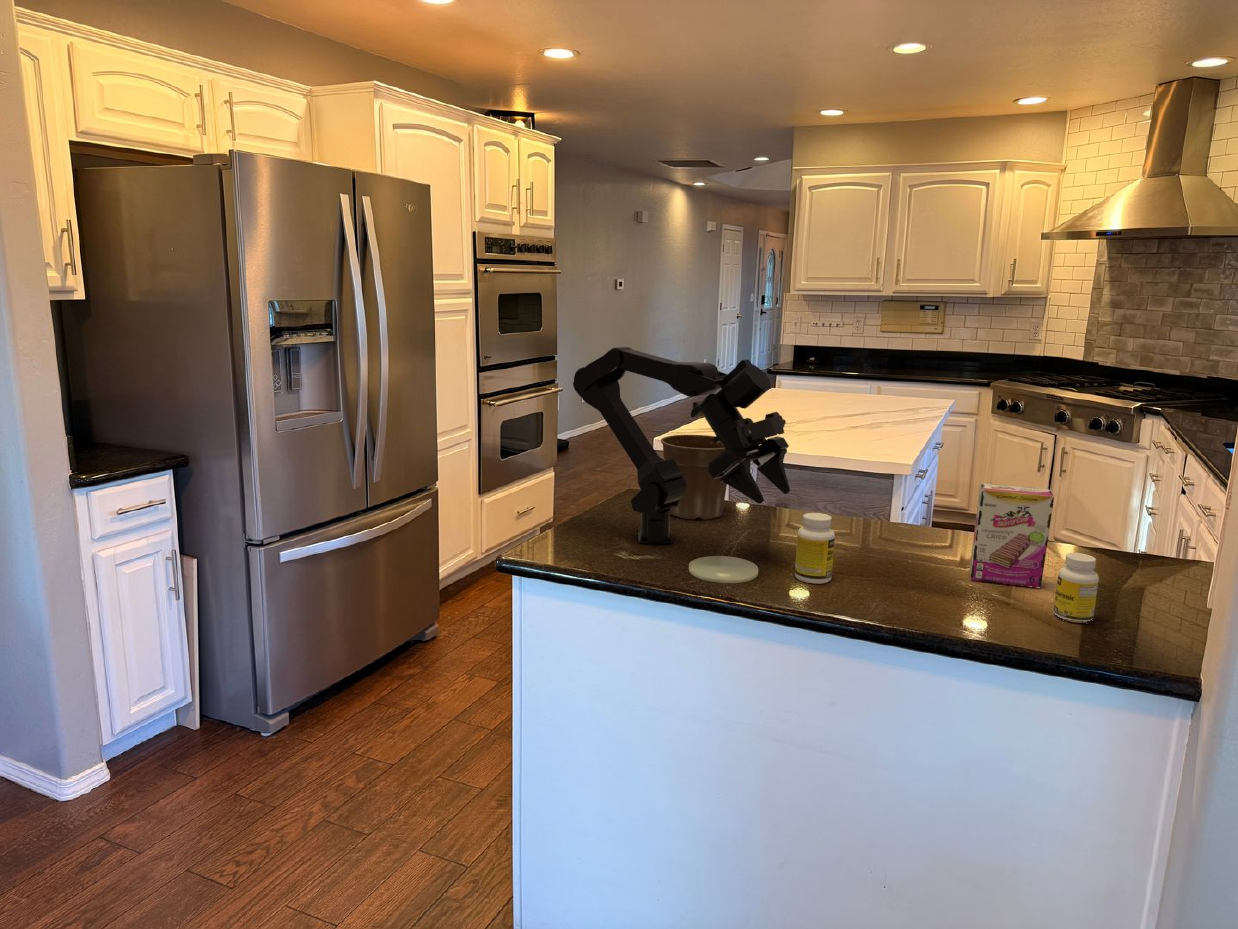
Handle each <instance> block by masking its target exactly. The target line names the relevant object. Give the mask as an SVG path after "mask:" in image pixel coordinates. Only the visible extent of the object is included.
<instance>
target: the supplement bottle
mask: <svg viewBox="0 0 1238 929" xmlns="http://www.w3.org/2000/svg"><path fill="white" fill-rule="evenodd" d="M1096 562H1097V558H1096V557H1094V556H1092V555H1089V554H1086V553H1081V552H1080V553H1079V552H1069V553H1067V554H1066V555H1065V560H1064V564H1065V566H1063V567H1061V568H1060V569H1059V570H1058V574H1057V581H1056V582H1057V584H1056V589H1055V596H1054V604H1053V614H1054V613H1055V615H1057V616H1058V617H1060V618H1063V619H1068V620H1074V621H1083V622H1087V621H1090V620H1092V619H1093V620H1094V616H1095V610H1096V603H1097V594H1098V588H1099V587H1098V586H1099V579H1100V578H1099V574H1098V573H1097V572H1095V571H1094V569H1095V568H1096V564H1097V563H1096ZM1055 615H1054V616H1055ZM1093 620H1092V621H1093Z"/></svg>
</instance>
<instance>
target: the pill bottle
mask: <svg viewBox="0 0 1238 929" xmlns="http://www.w3.org/2000/svg"><path fill="white" fill-rule="evenodd" d="M802 524H803V526H801V527H800V528H799V529H798V530H797V536H796V537H797V538H796V552H795V567H794V576H795V578H796V579H797V580H799V581H801V582H804V583H809V584H815V585H816V584H817V585H818V584H819V585H821V584H827V583H828V582H830V581H831V580H832V576H833V568H834V567H833V565H834V554H835V553H834V551H835V550H834V549H835V541H836V540H835V539H836V537H835V536H836V534H835V532H834V530H833V529H831V528H830V527H831V526H832V516H830V515H828V514H825V513H820V512H807V513H805V514H803V515H802Z"/></svg>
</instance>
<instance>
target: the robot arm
mask: <svg viewBox="0 0 1238 929" xmlns="http://www.w3.org/2000/svg"><path fill="white" fill-rule="evenodd" d="M626 372H630V373H633V374H637V375H640V376H643V377H646V378H651V379H653V380H657V381H660V382H664V383H665V384H668V385H669V386H670V388H672V390H675V391H676V392H678V393H680V394H682V395H684V396H685V397H689V398H694V397H700V396H706V397H705V398H704V399H703V400H700V401H699V400H698V401H693V402H692V409H691V411H690V418H697V417H702V416H703V417H704V418H705V421H706V422H707V424H708V425H709V426H710V428H711V430H712V431H713V433H714V434H715V435H714V436H715V437H714V438H713V440H714V442H715V443H720V442H721V444H722V446H723V447H724V449H725V451H723V452H722V453H721V454H720V455H718V456H717V457H716V458H715V459H713V460H712V461H711V462H710V463H709V464H708V472H709V473H710V475H711V477H712V478H713V480H714V479H717V478H720V479H719V481H720V482H724V483H726V484H727V486H730V487H731V488H733V489H735V490H737V491H738V492H740V493H741V494H743V495H744V496H746V497H747V498H748V499H750V500H752V501H754V502H755V503H757V504H758V505H760V504H762V503H763V502H764V501H765V499H764V496H763V494H762V492H761V490H760V488H759V486H758V484H757V482H756V481H755V479H754V477H753V474H752V473H751V464H752V463H753V464H754V465H756V466H757V468H756V470H757V471H759V472H760V473H761V474H762V476H764V477H765V478H766V479H767V480H768V481H770V483H772V485H774V486H775V487H776V488H777V489H778V490H780V492H782V493H783V494H784V495H788V494H789V493H790V492H791V489H790V484H789V481H788V478H787V474H786V470H785V465H784V460H785V455H786V454H787V453H788V448H789V447H790V445H789V444H788V442H787V440H786V439H785V438H784V437H782V436H779V435H783V434H785V429H784V428H785V425H786V424H787V421H786V420H785V419H784V418H783V416H782V415H781V414H780V412H778V411H773V412H771V413H767V414H765V416H764V419H761V420H758V421H753V420H752V419H751V418H750V417H746V418H744V417H743V415H742V413H741V412H740V410H739V409H738V408H740V409H747V408H749V407H750V406H751V405H752V404H753V403H754V402H756V401H757V400H758V399H759V398H761V397H762V396H763V395H764V394H766V393H767V392H768V391H769V390H771V385H772V384H771V381H770V378H769V377H768V375H767V373H766V372H763V370H762V369H761V368H759V367H758V366H757V365H755V364H753V363H752V362H751V360H750V359H742V360H740V362H738V363H737V364H736V366H735V367H734V368H733V369H732V370H731V371H730V372H729V373H725V372H722V371H721V370H720V371H719V369H718V366H716V365H715V364H713V363H710V362H699V361H698V362H695V361H693V362H691V361H690V362H688V361H676V360H672V359H668V358H665V357H661V356H657V355H654V354H650V353H646V352H642V351H638V350H635V349H633V348H631V347H628V346H619V347H613V348H611V349H609V350H607V352H606V353H604V355H602V356H600V357H598V358H597V359H595V360H593V361H591V362H590V363H588V364H587V365H585V366H584V367H580V368H578V369H577V370H576V371H575V373H574V376H573V383H572V385H573V389H574V391H575V392H576V393H577V395H578V396H579V397H580V398H581V399H582V400H583V401H584V403H585V404H587V405H589V406H590V407H592V408H593V409H595V410H596V411H598V412H599V413H600V414H601V416H602V418H603V420H604V421H605V423H606V424H607V426H608V427H609V429H610V430H611V432H612V433H613V435H614V436H615V438H616V439H617V441H618V443H619V444H620V445H621V447H622V449H623V450H624V452H625V453H626V455H627V456H628V458H629V459H630V461H631V462H632V464H633V465H634V467H635V469H636V471H637V473H636V475H637V484H638V487H639V489H640V491H639V492H638V493H637V494H636V495H635V496H634V497H632V499H631V500H630V502H631V506H632V511H634V512H637V513H640V531H638V532H637V540H638V544H649V545H650V544H652V545H653V544H654V545H655V544H658V545H659V544H660V545H661V544H662V545H664V544H665V545H667V544H668V545H672V544H673V536H672V533H671V514H670V508H673V507H678V505H679V502H680V499H681V498H682V497H683V496H684V494H685V491H686V486H687V485H686V481H685V479H684V477H683V476H684V475H685V474H684V473H683V472H681V470H680V469H679V468H678V466H677V463H676V462H675V460H674V459H673V458H671V459H667V460H665V459H664V458H662V457H661V456H659V454H658V453H657V452H656V450H655V449H654V447H653V445H652V444H651V443H650V441H649V440H648V438H647V436H646V435H645V433H644V432H643V431H642V429H641V428H640V426H639V424H638V423H637V422H636V419H635V418H634V417H633V415H632V413H631V412H630V411H629V409H628V408H627V406H626V404H625V403H624V402H623V400H622V399H621V386H620V383H619V381H620V380H621V379H623V377H624V376H625V374H626ZM718 389H719V391H718ZM716 391H718V392H717V393H715V392H716ZM721 477H722V478H721Z"/></svg>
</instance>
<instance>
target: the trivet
mask: <svg viewBox="0 0 1238 929" xmlns="http://www.w3.org/2000/svg"><path fill="white" fill-rule="evenodd" d="M688 572H689V574H691V575H692V576H693V577H695V578H697V579H700V580H703V581H706V582H710V583H711V582H712V583H720V584H740V583H746V582H750V581H752V580H754V579H756V578H757V577H758V576H759V568H758V566H757V565H756V563H754V562H752V561H750V560H747V559H745V558H740V557H734V556H727V555H726V556H725V555H710V556H709V555H708V556H703V557H698V558H695V559H692V560H691V561H690V562H689V564H688Z"/></svg>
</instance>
